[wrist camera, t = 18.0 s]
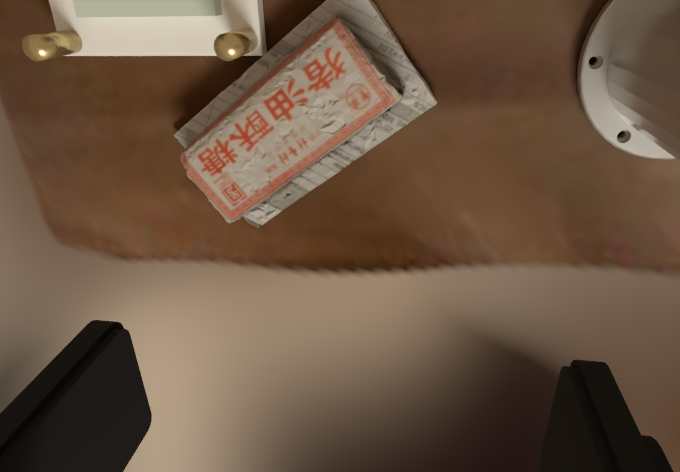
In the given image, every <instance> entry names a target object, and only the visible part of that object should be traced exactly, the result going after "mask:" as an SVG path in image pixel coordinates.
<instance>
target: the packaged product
mask: <svg viewBox="0 0 680 472" xmlns="http://www.w3.org/2000/svg"><path fill="white" fill-rule="evenodd" d="M436 104H437V101H436V99H435V97H434V96H433V94H432V92H431V90H430V88H429V86H428V84H427V82H426V81H425V80H424V78H423V77H422V76H421V74H420V73H419V72H418V71H417V69H416V68H415V67H414V65H413V64H412V63H411V61H410V60H409V59H408V57H407V55H406V54H405V52H404V50H403V48H402V47H401V45H400V43H399V41H398V39H397V38H396V36H395V35H394V33H393V31H392V30H391V28H390V27H389V25H388V24H387V22H386V21H385V19H384V18H383V16H382V14H381V13H380V11H379V10H378V8H377V7H376V5H375V4H374V3H373V2H372V0H326V1H325V2H324V3H322V4H321V5H320V6H319V7H318V8H317V9H316V10H314V11H313V12H312V13H311V14H310V15H309V16H307V17H306V18H305V19H304V20H303V21H302V22H301V23H299V24H298V25H297V26H296V27H295V28H294V29H293V30H292V31H290V32H289V33H288V34H287V35H286V36H285V37H284V38H283V39H282V40H280V41H279V42H278V43H277V44H276V45H275V46H274V47H273V48H271V49H270V50H269V51H268V52H267V53H266V54H265V55H264V56H263V57H262V58H260V59H259V60H258V61H256V62H255V63H254V64H253V65H252V66H251V67H250V68H249V69H247V70H246V71H245V72H244V73H243V75H242V76H241V77H240V78H239V79H237V80H236V81H234V82H233V83H232V84H231V85H230V86H229V87H227V88H226V89H225V90H224V91H222V92H221V93H220V94H219V95H218V96H216V97H215V98H214V99H213V100H212V101H211V102H210V103H209V104H208V105H207V106H206V107H205V108H203V109H202V110H201V111H200V112H199V113H198V114H197V115H195V116H194V117H193V118H192V119H191V120H190V121H189V122H188V123H186V124H185V125H184V126H183V127H182V128H180V129H179V130H178V131H177V132H176V133H175V134H174V136H175V137H176V138H177V139H178V141H179V142H180V143H181V144H182V145H183V147H184V148H185V150H184V151H182V153H181V157H180V159H181V162H182V164H183V166H184V167H185V169H186V172H187V176H188V177H189V178H190V179H191V180H192V181H193V182H194V183H195V184H197V186H198V187H199V188H200V189H201V190H202V191H203V192H204V194H205V195H206V196H207V198H208V200H209V201H210V202H211V204H212V205H213V206H214V208H215V209H217V210H218V211H219V212H220V213H221V215H222V216H223V217H224V219H225V220H226V221H227V223H229V224H230V223H232V222H235V220H239V219H240V218H241V217H242V216H243V217H244V218H245V219H246V220H247V222H248V224H251V225H253V226H256V227H260V226H262V225H263V224H264V223H266V222H267V221H268V220H270V219H271V218H273V217H274V216H275V215H277V214H278V213H280V212H281V211H283V210H284V209H285V208H287V207H288V206H290V205H291V204H293V203H294V202H295V201H297V200H298V199H300V198H301V197H303V196H304V195H305V194H307V193H308V192H310V191H311V190H313V189H314V188H316V187H317V186H319V185H320V184H322V183H323V182H325V181H326V180H328V179H329V178H331V177H332V176H333V175H335V174H336V173H338V172H339V171H340V170H342V169H343V168H345V167H346V166H347V165H349V164H350V163H352V162H353V161H354V160H356V159H357V158H359V157H360V156H362V155H363V154H365V153H366V152H367V151H369V150H370V149H372V148H373V147H375V146H376V145H378V144H379V143H381V142H382V141H384V140H385V139H386V138H388V137H389V136H391V135H392V134H394V133H395V132H396V131H398V130H399V129H401V128H402V127H404V126H405V125H407V124H408V123H409V122H411V121H413V120H414V119H415V118H417V117H418V116H419V115H421V114H422V113H424V112H425V111H427V110H428V109H430V108H431V107H433V106H434V105H436Z"/></svg>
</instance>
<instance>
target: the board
mask: <svg viewBox="0 0 680 472" xmlns="http://www.w3.org/2000/svg"><path fill="white" fill-rule="evenodd" d="M73 5H74V9H75V13H76V17H166V16H218V15H222V8H221V0H73Z"/></svg>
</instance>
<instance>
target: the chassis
mask: <svg viewBox="0 0 680 472" xmlns="http://www.w3.org/2000/svg"><path fill="white" fill-rule="evenodd" d="M49 4H50V7H51V11H52V15H53V19H54V23H55V26H56V30H57V31H54V32H47V33H40V34H33V35H27V36H25V37H24V39H23V41H22V47H23V50H24V52H25V54H26V55H27V56H28V57H29V58H30V59H32V60H34V61H41V60H45V59H50V58H55V57H59V56H218V57H219V58H220V59H222V60H224V61H231V60H234V59H236V58H239V57H241V56H263V55H265V54H266V53H267V49H266V37H265V25H264V13H263V1H262V0H221V8H222V15H218V16H166V17H76V13H75V9H74V5H73V0H49Z"/></svg>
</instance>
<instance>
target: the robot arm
mask: <svg viewBox="0 0 680 472" xmlns="http://www.w3.org/2000/svg"><path fill="white" fill-rule="evenodd" d="M594 56H595V58H596V60H595V62H594V63H593V64H589V60H590V58H591V57H594ZM577 87H578V93H579V100H580V103H581V105H582V108H583V110H584V113H585V115H586V117H587V119H588V120H589V121H590V123H591V124H592V126H593V127H594V129H595V130H596V131H597V132H598V133H599V134H600V135H601V136H602V137H603V138H604V139H606V140H607V141H608V142H610V143H611V144H612V145H614V146H615V147H617V148H619V149H621V150H623V151H626V152H628V153H630V154H633V155H636V156H641V157H646V158H651V159H678V160H679V161H680V0H609V1H608V2H607V3H606V4H605V5H604V6H603V8H602V9H601V11H600V13H599V14H598V16H597V17H596V19H595V20H594V22H593V24H592V25H591V27H590V29H589V32H588V34H587V36H586V39H585V41H584V43H583V45H582V50H581V54H580V58H579V62H578V72H577ZM621 131H623V134H622V135H621V136H617V135H618V133H620V132H621ZM150 424H151V410H150V407H149V403H148V399H147V396H146V392H145V389H144V385H143V381H142V377H141V374H140V370H139V366H138V362H137V359H136V355H135V351H134V348H133V344H132V340H131V337H130V334H129V331H128V330H126V329H124V328H123V326H122V324H121V323H119V322H111V321H100V320H94V321H91V322H90V323H89V324H87V325H86V326H85V328H84V329H82V331H81V332H80V333H79V334H78V335H77V336H76V337H75V338H74V339H73V340H72V341H71V342H70V343H69V344H68V345H67V346H66V347H65V348H64V349H63V350H62V351H61V352H60V353H59V354H58V355H57V356H56V357H55V358H54V359H53V360H52V361H51V362H50V363H49V364H48V365H47V366H46V368H44V370H43V371H42V372H41V373H40V374H39V375H38V376H37V377H36V378H35V379H34V380H33V381H32V382H31V383H30V384H29V385H28V386H27V387H26V388H25V389H24V390H23V391H22V392H21V393H20V394H19V395H18V396H17V397H16V398H15V399H14V400H13V401H12V402H11V403H10V404H9V405H8V406H7V407H6V409H4V411H3V412H2V413H1V414H0V472H123V471H124V469H125V467H126V466H127V464H128V462H129V461H130V459H131V458H132V456H133V454H134V453H135V451H136V449H137V448H138V446H139V444H140V443H141V441H142V440H143V438H144V436H145V435H146V433H147V431H148V429H149V427H150ZM539 470H540V472H673V470H672V468H671V466H670V464H669V462H668V460H667V458H666V456H665V454H664V452H663V450H662V448H661V447H660V445H659V444H658V442H657V441H656V440H655V439H654V438H653V437H651V436H642V435H641V434H640V432H639V430H638V428H637V426H636V424H635V421H634V419H633V417H632V415H631V413H630V411H629V409H628V407H627V405H626V402H625V401H624V398H623V396H622V394H621V392H620V390H619V388H618V386H617V384H616V381H615V379H614V377H613V375H612V373H611V371H610V369H609V367H608V365H607V364H606V363H604V362H595V361H584V360H573V361H572V363H571V365H570V367H567V366H563V367H562V369H561V371H560V375H559V379H558V383H557V387H556V391H555V396H554V400H553V404H552V408H551V413H550V416H549V420H548V424H547V429H546V433H545V437H544V441H543V445H542V449H541V453H540V458H539Z"/></svg>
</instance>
